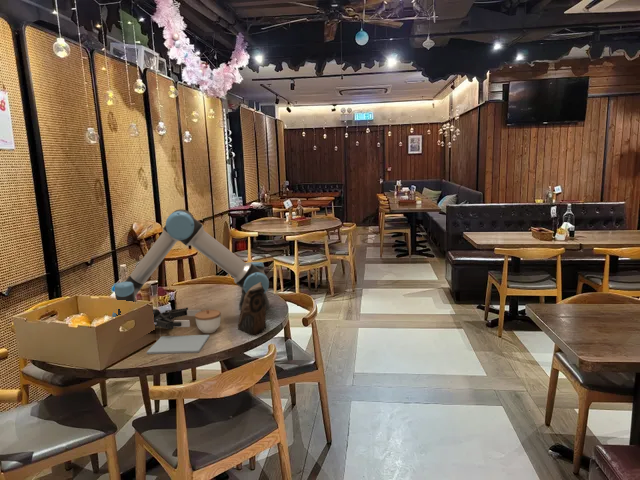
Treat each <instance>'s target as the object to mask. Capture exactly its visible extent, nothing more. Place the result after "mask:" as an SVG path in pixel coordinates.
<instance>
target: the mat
mask: <svg viewBox="0 0 640 480" xmlns="http://www.w3.org/2000/svg"><path fill="white" fill-rule="evenodd" d="M209 338H210V334H195V335H194V334H193V335H191V334H189V335H162V336H160V337H159V339H158V340H156V342H154V343H153V345H152V346H151V347H150V348H149V349H148V350H147V351H146V355H159V354H160V355H162V354H194V353H195V354H197V353H200V351H201V350H202V349H203V347H204V346H205V344H206V343H207V341H208V340H209Z"/></svg>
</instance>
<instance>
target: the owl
mask: <svg viewBox="0 0 640 480" xmlns="http://www.w3.org/2000/svg"><path fill="white" fill-rule="evenodd" d="M264 292H265V290H264V288H263V286H262V283H261V282H259V283H258V284H256V285H254V286H252V287H251V288H250V289H249V290H248V291H247V293H246V295H245V297H244V301H243V304H242V308H241V310H240V313H239V316H238V323H237V330H238V331H241V332H243V333H245V334H248V335H249V336H258V335H260V334H262V333H264V332H263V331H265V329H267V327H266V325H267V323H266V319H267V318H266V317H267V312H266V310H267V309H266V305H265V299H264Z"/></svg>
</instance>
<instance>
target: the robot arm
mask: <svg viewBox="0 0 640 480" xmlns="http://www.w3.org/2000/svg"><path fill="white" fill-rule="evenodd" d="M165 220H166V221H165V225H164V227H162V232H161V234H160V235H159V236H158V238H157V239H156V240H155V242H154V243H153V244H152V246H151V247H150V249H149V250H148V251H147V252H146V253H145V255H144V256H143V257H142V259H141V260H140V261H139V262H138V264H137V266H136V267H135V268H134V269H133V271H132V272H131V273H130V274H129V276H128V277H127V278H126V280H124V281H122V282H117V283H116V284H115V285H114V294H115V300H116V299H117V300H126V301H133V302H134V301H135V302H136V296H137V294H138V293H139V291H140V290H141V289H142V288H143V287H144V285H145V284H146V282H147V281H148V280H149V278H150V277H151V275H152V274H153V273H154V272H155V271H156V270H157V268H158V267H159V266H160V265H161V263H162V262H163V260H164V259H165V257H167V255H168V253H170V252H171V250H172V248H174V246H175V244H176V243H177V242H180V243H182V244H184V245H185V247H188V246H191V247H192V248H194V249H195V250H197V251H198V252H199V253H201V254H202V255H203V256H204V257H206V258H207V259H208V260H210V261H211V262H213V263H214V264H215V265H217V266H218V267H219V268H220V269H222V271H225V272H226V273H227V274H229V276H231V277H232V278H233V282H234V283H235V284H236V285H237V286H238V287H240V288H241V289H240V290H241V295H240V299H239V304H238V309H239V311H241V308H242V304H243V301H244V297H245V295H246V293H247V291H248V290H249V289H250V288H251V287H252V286H254V285H256V284H258V283H259V282H261V283H262V286H263V288H264V290H265V292H264V299H265V305H266V310H268V309H269V308H270V300H269V297H268V295H267V292H268V290H269V288H270V281H269V278H268V277H269V276H268V275H266V273H265V265H264V262H263V261H251V262H245V261H244V260H242V258H240V257H239V256H237V255H236V254H235V253H233V251H231V250H230V249H229V248H227V247H226V246H225V245H224V244H223V243H221V242H219V241H218V240H217V239H216V238H214V237H213V236H212V235H210V233H208V232H207V231H205V227H204V225H203V224H202V223H201V222H200V221H198V220H197V219H196V218H195V217H194V215H193V213H191V212H190V211H189V210H186V209H183V208H182V209H181V208H180V209H176V210H174V211H173V212H172V213H170V214H169V215H168V216H167V218H166V219H165ZM152 309H153V314H154V324H155V328H157V327H158V328H162V329H166V330H174V329H175V328H190V327H191V323H190V321H191V320H189V319H183V320H182V319H181V320H180V319H178V320H177V319H175V318H180V317H185V316H187V317H195V314H196V313H198V312H200V311H203V310H202V309H189V308H188V307H184V308H178V309H169V310H165V311H164V312H161V311H160V310H159V309H158V308H157V309H156V308H155V309H154V308H152ZM120 313H121V311H120V309H118V315H121V314H120ZM118 315H117V314H116V313H114V311H113V312H112V314H111V316H112V317H116V316H118ZM112 317H111V318H112Z"/></svg>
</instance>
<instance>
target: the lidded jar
mask: <svg viewBox="0 0 640 480" xmlns="http://www.w3.org/2000/svg"><path fill="white" fill-rule="evenodd" d="M194 319H195V324H196V326H197V328H198V330H200V332H202V334H212V333H215V332H216V331H217V330H218V328H219V327H220V325H221V321H222V320H221V319H222V318H221V311H220V310H218V309H205V310H202V311H200V312H198V313H196V314H195V316H194Z"/></svg>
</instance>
